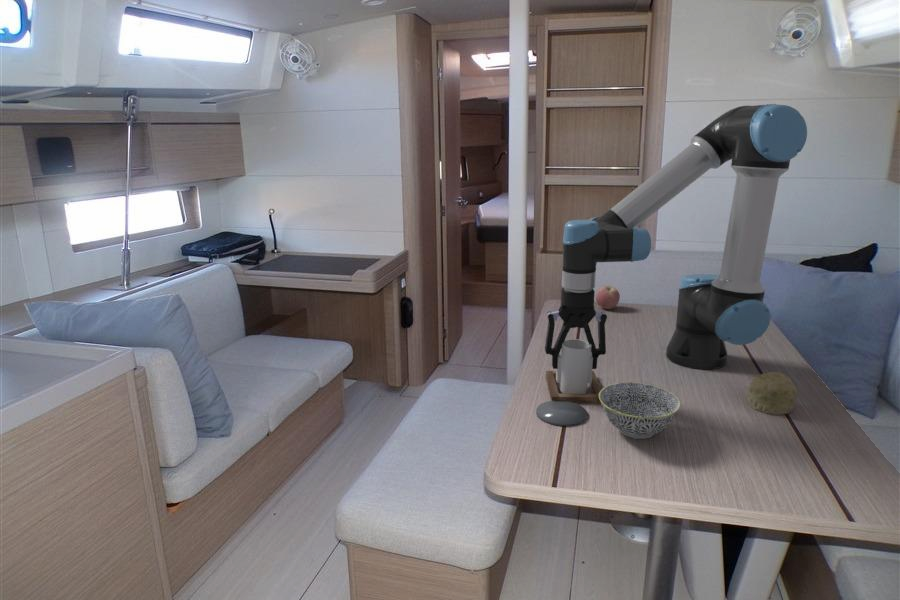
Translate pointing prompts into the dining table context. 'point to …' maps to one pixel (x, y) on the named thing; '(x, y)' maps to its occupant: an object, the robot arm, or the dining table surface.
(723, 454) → the dining table surface
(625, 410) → the bowl
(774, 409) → the decorative object
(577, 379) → the mug
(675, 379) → the dining table surface
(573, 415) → the coaster
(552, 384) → the holder
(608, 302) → the apple
